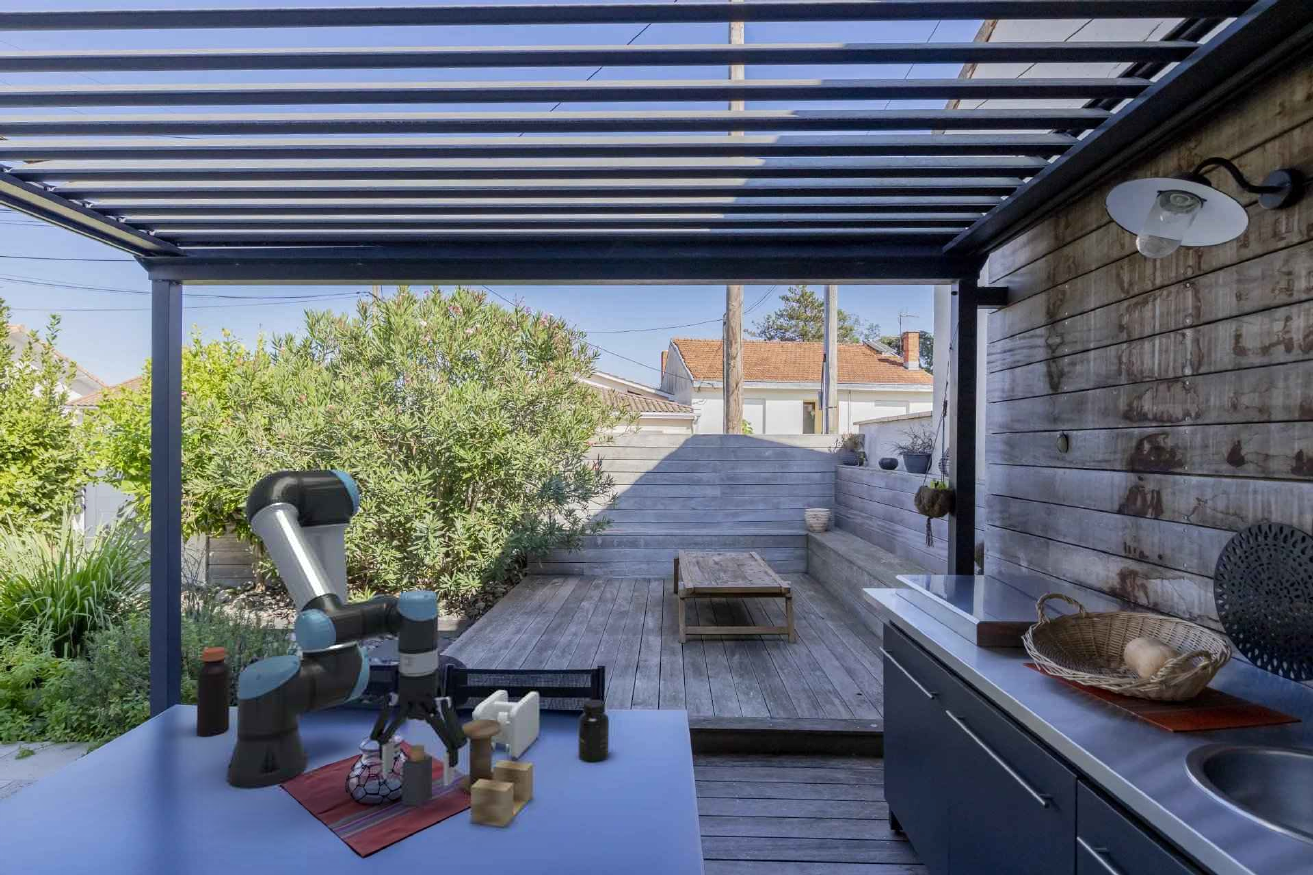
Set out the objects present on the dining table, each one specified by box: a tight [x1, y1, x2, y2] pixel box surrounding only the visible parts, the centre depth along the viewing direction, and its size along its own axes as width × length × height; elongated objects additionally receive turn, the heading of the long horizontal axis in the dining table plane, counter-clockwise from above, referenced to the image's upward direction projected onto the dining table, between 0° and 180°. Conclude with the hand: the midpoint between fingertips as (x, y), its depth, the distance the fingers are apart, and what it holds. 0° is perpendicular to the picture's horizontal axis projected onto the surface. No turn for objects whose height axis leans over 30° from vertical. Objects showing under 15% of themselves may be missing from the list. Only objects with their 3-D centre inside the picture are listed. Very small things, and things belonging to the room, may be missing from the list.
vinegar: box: [196, 646, 231, 737], centre depth 176 cm, size 7×7×20 cm
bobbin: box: [460, 719, 501, 794], centre depth 148 cm, size 8×8×12 cm
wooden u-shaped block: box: [470, 759, 534, 828], centre depth 138 cm, size 7×12×7 cm, turn 166°
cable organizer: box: [471, 689, 540, 759], centre depth 167 cm, size 15×11×12 cm
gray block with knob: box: [401, 744, 433, 807], centre depth 142 cm, size 4×4×10 cm
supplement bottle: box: [577, 699, 610, 763], centre depth 162 cm, size 7×7×12 cm
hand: (418, 779), depth 142 cm, fingers open, 13 cm apart
